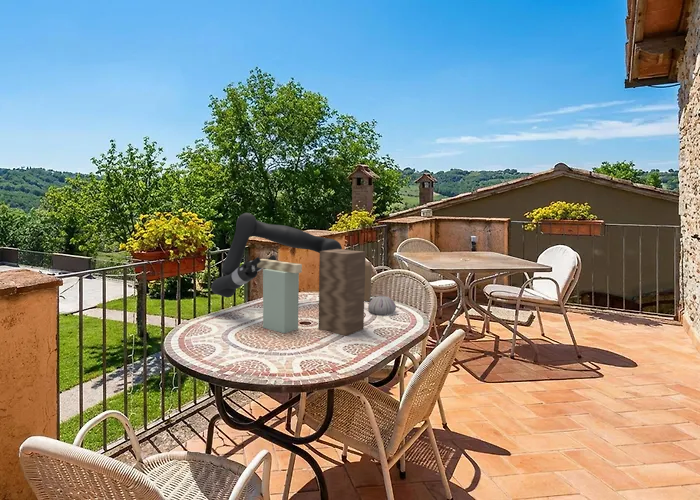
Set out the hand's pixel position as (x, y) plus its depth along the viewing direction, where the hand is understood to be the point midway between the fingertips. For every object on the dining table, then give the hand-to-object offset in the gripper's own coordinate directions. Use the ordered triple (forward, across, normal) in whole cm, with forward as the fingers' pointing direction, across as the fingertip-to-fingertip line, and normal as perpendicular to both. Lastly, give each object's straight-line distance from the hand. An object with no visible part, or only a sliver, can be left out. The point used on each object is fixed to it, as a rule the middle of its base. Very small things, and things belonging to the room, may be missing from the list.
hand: (267, 258), depth 182 cm
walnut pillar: (+10, +15, +38) cm, 42 cm away
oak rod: (+4, 0, +7) cm, 8 cm away
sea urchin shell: (+8, +49, +37) cm, 62 cm away
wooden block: (-12, +65, +26) cm, 71 cm away
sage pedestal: (-7, 0, +28) cm, 29 cm away
